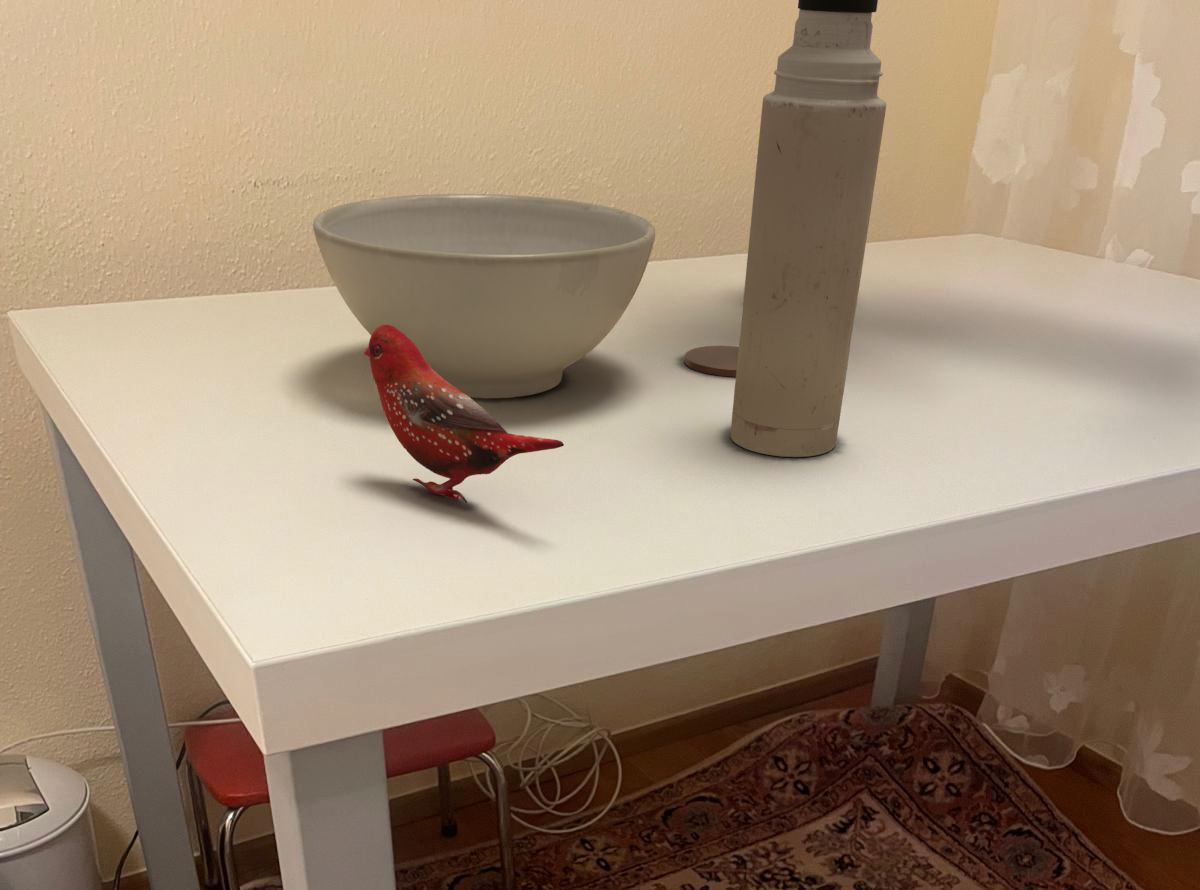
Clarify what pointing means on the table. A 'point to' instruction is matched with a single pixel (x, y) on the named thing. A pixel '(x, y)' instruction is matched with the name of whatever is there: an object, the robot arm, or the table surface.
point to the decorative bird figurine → (439, 416)
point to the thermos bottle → (808, 232)
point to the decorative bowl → (488, 280)
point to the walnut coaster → (713, 360)
